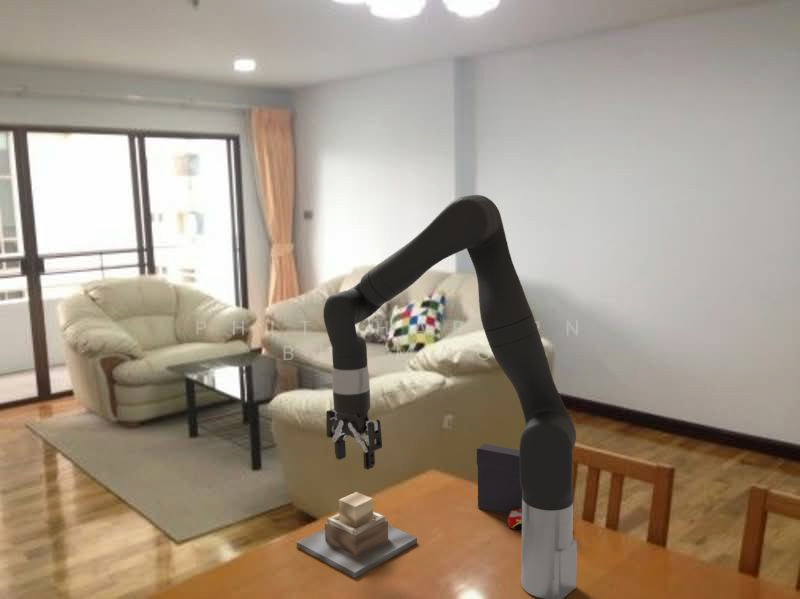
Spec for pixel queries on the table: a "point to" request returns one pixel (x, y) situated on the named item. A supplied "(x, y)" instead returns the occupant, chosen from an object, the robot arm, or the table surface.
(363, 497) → the maple cube
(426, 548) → the table surface
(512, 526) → the race car
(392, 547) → the plate
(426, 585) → the table surface
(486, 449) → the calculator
